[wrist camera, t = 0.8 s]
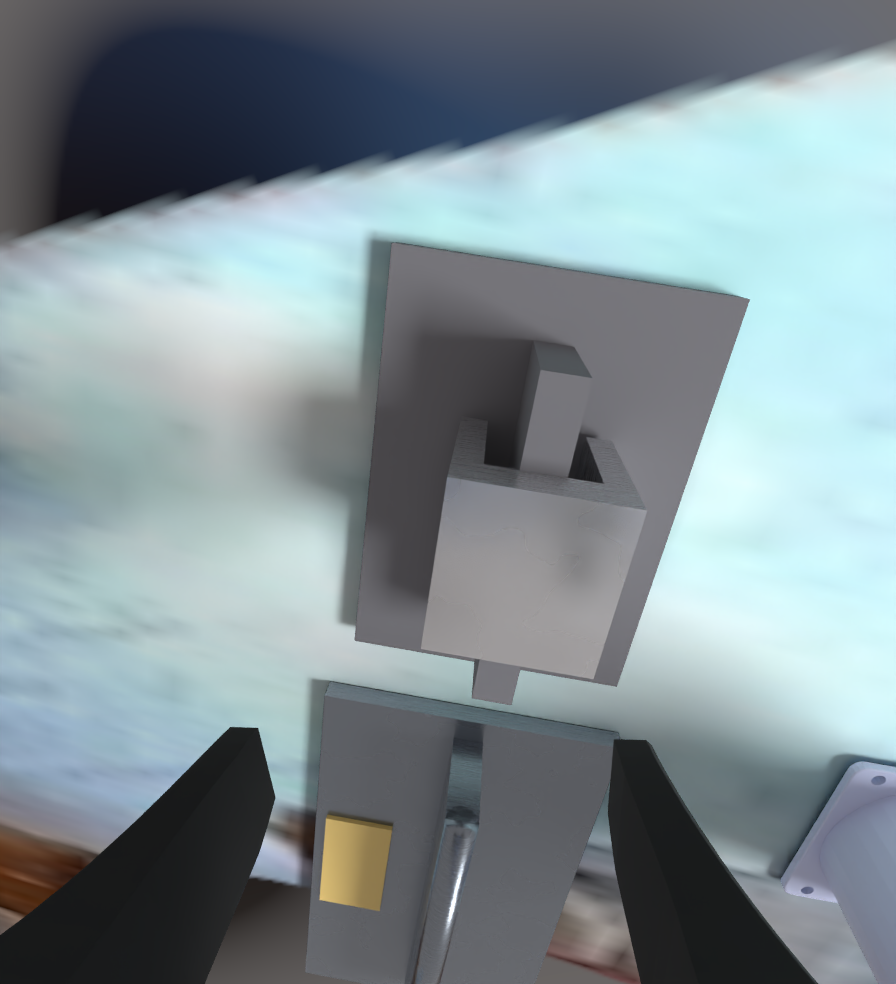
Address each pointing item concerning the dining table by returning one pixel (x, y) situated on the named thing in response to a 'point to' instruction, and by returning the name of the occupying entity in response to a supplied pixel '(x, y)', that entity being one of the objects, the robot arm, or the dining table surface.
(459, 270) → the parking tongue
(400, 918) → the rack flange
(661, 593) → the dining table surface
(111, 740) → the dining table surface
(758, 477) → the dining table surface
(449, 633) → the slotted grey block
